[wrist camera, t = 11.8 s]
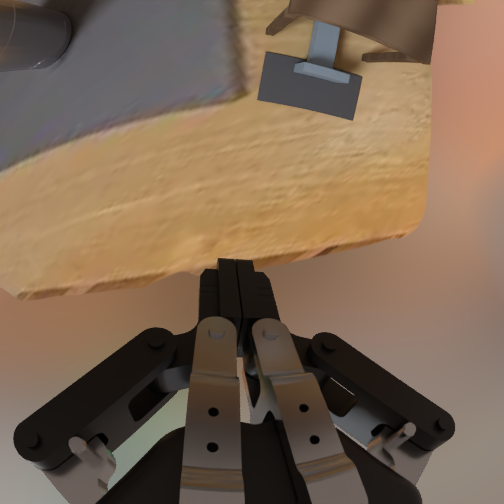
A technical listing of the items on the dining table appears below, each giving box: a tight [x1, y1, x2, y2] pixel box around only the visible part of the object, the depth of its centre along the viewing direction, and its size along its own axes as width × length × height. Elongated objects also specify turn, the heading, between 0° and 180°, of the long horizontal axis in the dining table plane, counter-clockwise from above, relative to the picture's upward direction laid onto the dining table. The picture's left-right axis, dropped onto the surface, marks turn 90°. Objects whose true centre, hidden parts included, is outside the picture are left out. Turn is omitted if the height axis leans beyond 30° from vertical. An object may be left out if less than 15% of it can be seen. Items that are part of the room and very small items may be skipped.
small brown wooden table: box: [266, 0, 438, 65], centre depth 22 cm, size 15×10×14 cm, turn 81°
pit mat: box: [257, 52, 362, 120], centre depth 34 cm, size 14×7×1 cm, turn 81°
